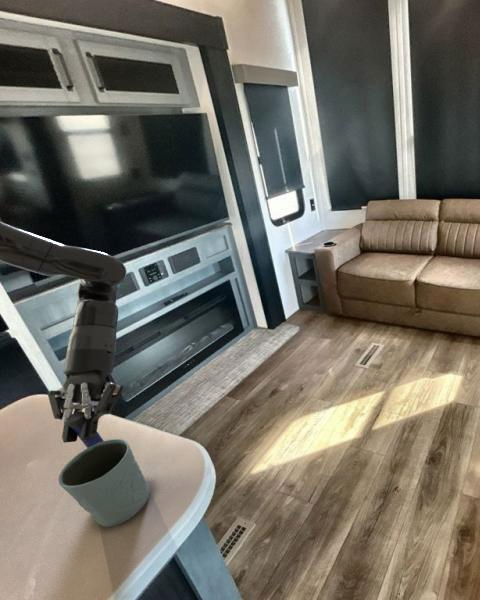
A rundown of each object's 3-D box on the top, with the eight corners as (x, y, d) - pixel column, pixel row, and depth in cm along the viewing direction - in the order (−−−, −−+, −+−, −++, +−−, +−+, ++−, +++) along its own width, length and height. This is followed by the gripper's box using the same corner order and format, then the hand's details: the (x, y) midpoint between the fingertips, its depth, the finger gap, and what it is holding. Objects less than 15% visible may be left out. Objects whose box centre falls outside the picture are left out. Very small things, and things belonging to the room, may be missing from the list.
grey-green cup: (87, 510, 69) (51, 469, 63) (144, 470, 75) (116, 429, 70) (104, 542, 63) (67, 499, 57) (165, 495, 70) (136, 453, 64)
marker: (95, 466, 73) (62, 423, 67) (104, 454, 75) (73, 412, 70) (108, 464, 73) (77, 421, 67) (118, 452, 75) (88, 410, 70)
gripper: (39, 351, 70) (21, 447, 65) (110, 343, 70) (97, 438, 65) (75, 357, 77) (61, 443, 72) (139, 349, 77) (129, 435, 72)
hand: (78, 440), depth 69 cm, fingers closed on marker, 3 cm apart
